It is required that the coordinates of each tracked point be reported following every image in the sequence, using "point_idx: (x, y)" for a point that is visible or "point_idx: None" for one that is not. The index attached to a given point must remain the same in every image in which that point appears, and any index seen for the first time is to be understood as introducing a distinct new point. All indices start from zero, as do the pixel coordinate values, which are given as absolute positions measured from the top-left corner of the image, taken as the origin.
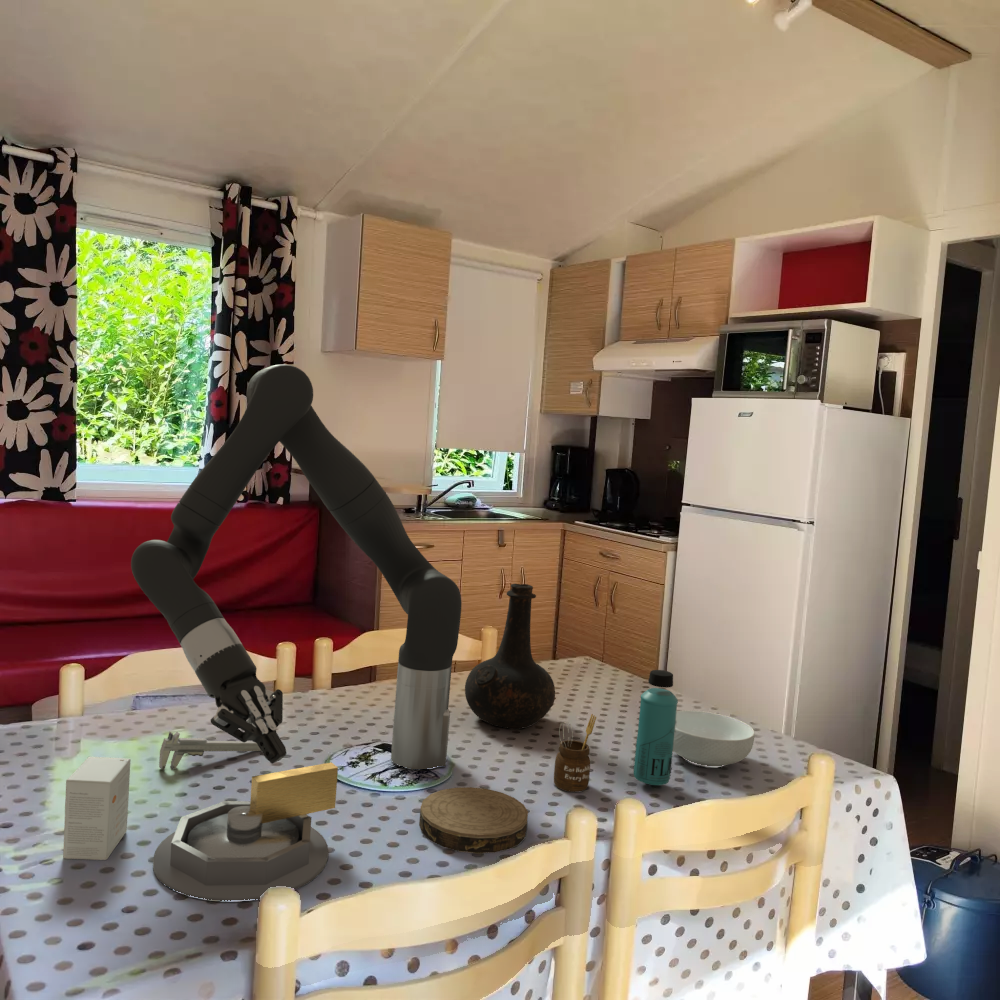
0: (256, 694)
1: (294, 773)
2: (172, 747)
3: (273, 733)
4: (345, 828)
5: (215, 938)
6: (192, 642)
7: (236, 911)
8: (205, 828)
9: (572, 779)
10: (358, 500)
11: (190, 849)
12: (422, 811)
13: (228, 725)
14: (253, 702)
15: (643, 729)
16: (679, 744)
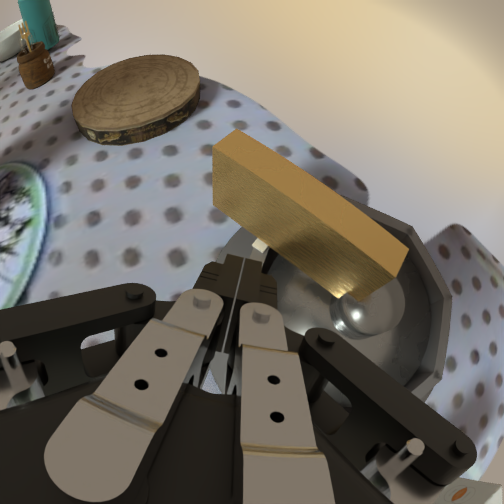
0: (151, 442)
1: (323, 193)
2: None
3: (223, 291)
4: (183, 216)
5: (463, 250)
6: None
7: (432, 254)
8: None
9: (51, 64)
10: None
11: (444, 339)
12: (152, 118)
13: (381, 442)
14: (187, 441)
15: (40, 14)
16: (17, 40)
